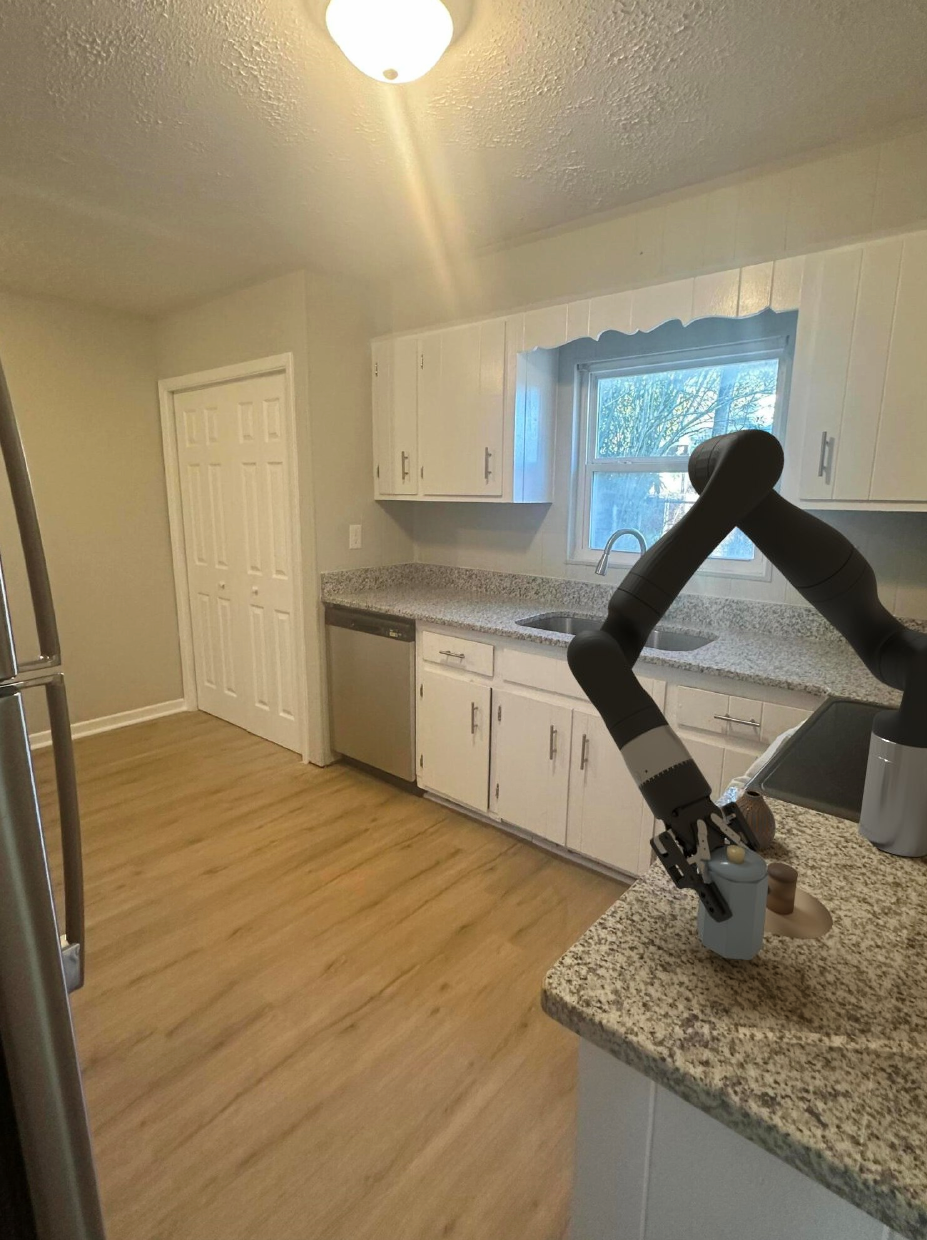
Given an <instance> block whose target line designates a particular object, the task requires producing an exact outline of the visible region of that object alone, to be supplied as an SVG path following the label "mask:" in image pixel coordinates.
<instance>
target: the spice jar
mask: <svg viewBox="0 0 927 1240" xmlns="http://www.w3.org/2000/svg"><path fill="white" fill-rule="evenodd" d="M767 872H768V874H769V881H768V885H769V888H770V890H771V893H770V894H769V895H767V903H766V907H767V908H768V909H769V910H771V911H772V912H775V913H777V914H782V915H789V914H791V913H793V910H794V902H795V893H796V887H797V884H798V883H797V882H798V880H799V872H798V871H797V870H796V869H795V868H794V867H792V866H791V865H789V864H786V863H782V862H771V863H769V864H768V863H767Z"/></svg>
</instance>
